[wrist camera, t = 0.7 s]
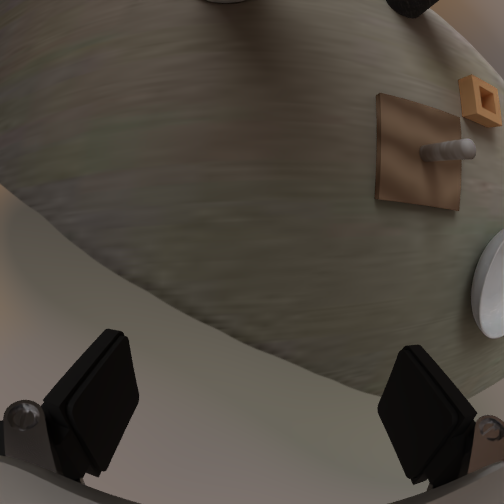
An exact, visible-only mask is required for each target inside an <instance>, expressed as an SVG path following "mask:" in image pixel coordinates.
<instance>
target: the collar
mask: <svg viewBox="0 0 504 504" xmlns="http://www.w3.org/2000/svg"><path fill="white" fill-rule="evenodd" d="M458 83H459V90H460V98H461V107H462V117H464V118H467V119H469V120H472V121H474V122H476V123H478V124H481V125H483V126H485V127H487V128H489V127H496V126H502V120H501V111H500V104H499V97H498V91H497V89H496V88H495V87H493V86H491V85H490V84H488V83H486V82H484V81H483V80H481V79H479V78H477V77H475V76H473V75H472V74H471V75H469V76H467V77H464V78H462V79H459V80H458Z"/></svg>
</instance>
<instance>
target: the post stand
mask: <svg viewBox="0 0 504 504" xmlns="http://www.w3.org/2000/svg"><path fill="white" fill-rule="evenodd" d="M376 111H377V159H376V183H375V198H374V199H380V200H389V201H396V202H404V203H411V204H418V205H425V206H432V207H438V208H444V209H450V210H456V211H459V204H460V190H461V160H463V159H473V158H474V157H475V155H476V147H475V144H474V142H473V141H472V140H471V139H469V138H467V139H461V126H460V118H459V117H457V116H454V115H452V114H449V113H446V112H444V111H441V110H438V109H435V108H432V107H429V106H426V105H423V104H420V103H416V102H413V101H410V100H406V99H403V98H399V97H395V96H391V95H387V94H383V93H379V94H377V95H376Z"/></svg>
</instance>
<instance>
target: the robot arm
mask: <svg viewBox="0 0 504 504" xmlns="http://www.w3.org/2000/svg"><path fill="white" fill-rule="evenodd" d="M207 1H211V2H217V3H234V2H240V1H245V0H207ZM43 401H44V403H43V404H42V405H41V406H40V405H39V404H37V403H35V402H34V401H30V400H21V401H17V402H15V403H13V404H11V405H10V406H9V407H8V408H7V409H6V411H5V413H4V417H3V420H2V421H0V504H140V503H136V502H133V501H130V500H126V499H123V498H120V497H117V496H113V495H110V494H107V493H104V492H102V491H99V490H96V489H93V488H91V487H88V486H86V485H85V483H84V481H83V477H84V475H85V473H88V474H91V475H93V476H96V477H99V475H100V473H101V471H106V470H107V468H108V466H109V464H110V462H111V459H112V457H113V455H114V453H115V450H116V448H117V446H118V444H119V442H120V440H121V438H122V436H123V434H124V431H125V429H126V427H127V425H128V423H129V421H130V419H131V417H132V415H133V413H134V411H135V409H136V407H137V405H138V402H139V392H138V387H137V383H136V378H135V373H134V368H133V362H132V357H131V351H130V345H129V340H128V337H126V336H124V333H123V332H121V331H117V330H111V329H106V330H105V331H104V332H103V333H102V334H101V335H100V336H99V337H98V338H97V339H96V340H95V341H94V342H93V343H92V345H91V346H90V347H89V348H88V349H87V350H86V351H85V352H84V353H83V354H82V356H81V357H80V358H79V359H78V360H77V361H76V362H75V363H74V364H73V366H72V367H71V368H70V369H69V370H68V371H67V372H66V374H65V375H64V376H63V377H62V378H61V379H60V380H59V382H58V383H57V384H56V385H55V386H54V387H53V389H52V390H51V391H50V392H49V393H48V395H47V396H46V397H45V398H44V399H43ZM378 414H379V416H380V418H381V420H382V423H383V425H384V427H385V429H386V431H387V433H388V436H389V438H390V440H391V442H392V445H393V447H394V449H395V451H396V454H397V456H398V458H399V461H400V463H401V465H402V468H403V470H404V472H405V475H406V476H407V478H409V479H411V481H412V483H413V485H414V484H417V483H420V482H423V481H425V480H427V479H428V480H429V482H430V483H429V485H428V488H427V491H426V492H424V493H421V494H418V495H415V496H413V497H409V498H406V499H403V500H400V501H396V502H393V503H389V504H504V422H503V421H502V420H501V419H499V418H498V417H495V416H493V415H485V416H482V417H480V418H479V419H478V420H477V421H476V422H475V421H474V420H473V419H474V417H475V416H476V414H477V412H476V411H475V409H474V408H473V407H472V406H471V404H470V403H469V402H468V400H467V399H466V398H465V397H464V396H463V394H462V393H461V392H460V391H459V389H458V388H457V387H456V386H455V385H454V383H453V382H452V381H451V380H450V379H449V377H448V376H447V375H446V374H445V373H444V372H443V370H442V369H441V368H440V367H439V366H438V365H437V363H436V362H435V361H434V360H433V359H432V358H431V357H430V355H429V354H428V353H427V352H426V351H425V350H424V349H423V348H422V346H420V345H409V346H405V347H404V348H403V349H402V350H401V351H400V352H399V353H398V356H397V359H396V361H395V364H394V367H393V370H392V372H391V375H390V377H389V380H388V382H387V385H386V387H385V390H384V392H383V395H382V397H381V399H380V402H379V404H378Z"/></svg>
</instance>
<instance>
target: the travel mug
mask: <svg viewBox="0 0 504 504" xmlns="http://www.w3.org/2000/svg"><path fill="white" fill-rule="evenodd" d="M386 1H387V3H388V4H389V5H390V6H391V7H392V8H393V9H394V10H395V11H396V12H398V13H399V14H401V15H403V16H405V17H408V18H416V17H418V16H420V15H421V14H422V13H424V12H425V11H426V10H427V9H429V8H430V7H431V6H432V5H434V4H435V3H436V2H437V1H439V0H386Z"/></svg>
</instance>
